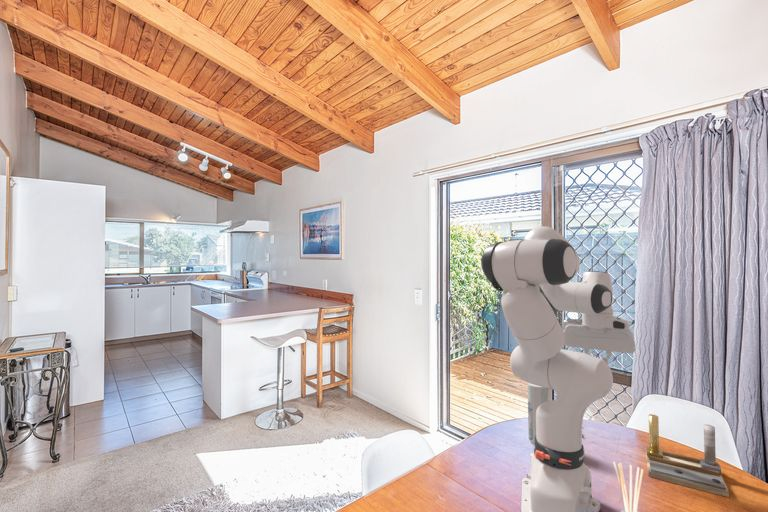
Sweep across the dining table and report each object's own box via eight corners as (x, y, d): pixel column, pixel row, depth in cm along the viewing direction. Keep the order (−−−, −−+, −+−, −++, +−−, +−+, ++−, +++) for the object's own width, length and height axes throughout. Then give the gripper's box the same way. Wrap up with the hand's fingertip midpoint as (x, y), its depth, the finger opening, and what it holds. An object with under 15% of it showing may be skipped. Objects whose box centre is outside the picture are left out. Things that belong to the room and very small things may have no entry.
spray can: (530, 435, 128) (529, 379, 128) (549, 440, 125) (549, 382, 125) (526, 443, 123) (525, 385, 123) (547, 448, 119) (546, 388, 120)
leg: (663, 460, 108) (662, 419, 109) (646, 456, 111) (646, 416, 111) (661, 454, 112) (661, 415, 112) (646, 450, 114) (645, 412, 114)
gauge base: (728, 497, 94) (727, 443, 94) (648, 476, 104) (647, 427, 104) (716, 471, 106) (715, 423, 106) (645, 454, 115) (645, 410, 115)
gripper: (560, 319, 120) (561, 360, 120) (635, 324, 109) (636, 370, 108) (563, 316, 125) (564, 356, 125) (634, 321, 114) (635, 365, 114)
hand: (598, 363), depth 117 cm, fingers open, 3 cm apart
